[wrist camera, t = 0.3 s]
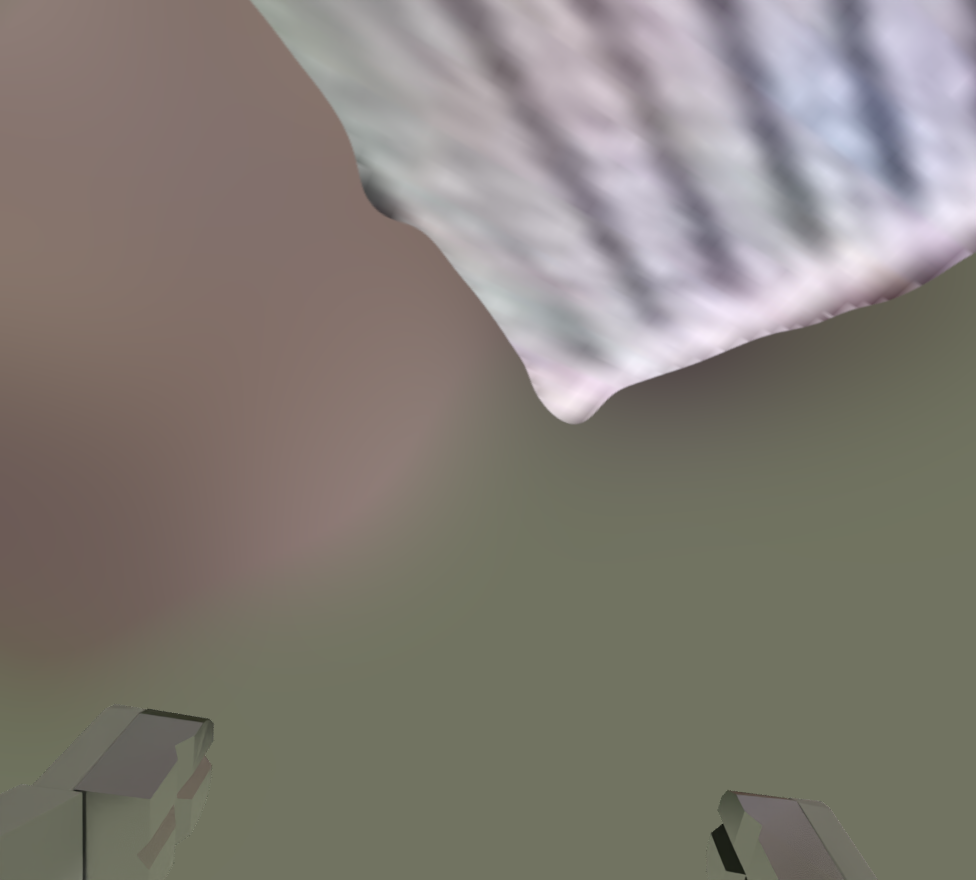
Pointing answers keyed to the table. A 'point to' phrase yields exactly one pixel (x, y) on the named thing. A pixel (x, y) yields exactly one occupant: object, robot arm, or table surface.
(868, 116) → the table surface
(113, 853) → the robot arm
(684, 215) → the table surface
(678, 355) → the table surface
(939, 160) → the table surface
